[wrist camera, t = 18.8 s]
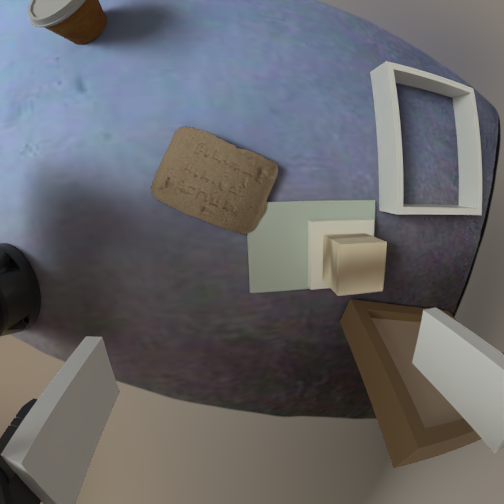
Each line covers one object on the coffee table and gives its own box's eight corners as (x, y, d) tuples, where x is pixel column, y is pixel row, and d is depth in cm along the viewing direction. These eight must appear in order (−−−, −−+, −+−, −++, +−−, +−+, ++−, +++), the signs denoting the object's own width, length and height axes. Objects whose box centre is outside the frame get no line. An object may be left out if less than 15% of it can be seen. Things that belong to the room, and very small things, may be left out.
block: (323, 234, 37) (340, 244, 31) (364, 233, 37) (386, 241, 32) (322, 279, 38) (337, 295, 33) (362, 276, 39) (382, 290, 33)
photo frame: (347, 296, 42) (449, 403, 18) (445, 308, 45) (539, 376, 20) (319, 376, 45) (374, 498, 21) (415, 375, 48) (484, 457, 24)
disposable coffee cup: (128, 11, 29) (103, -31, 18) (90, 60, 31) (52, 27, 19) (87, 1, 28) (58, -35, 16) (52, 46, 29) (13, 19, 17)
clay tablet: (281, 165, 36) (284, 163, 34) (249, 238, 38) (250, 241, 35) (178, 123, 35) (173, 119, 32) (147, 195, 36) (141, 195, 34)
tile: (310, 289, 39) (370, 283, 39) (311, 221, 36) (374, 219, 37) (307, 285, 40) (365, 279, 41) (307, 220, 38) (368, 218, 39)
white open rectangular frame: (379, 210, 39) (397, 214, 35) (370, 72, 35) (386, 61, 30) (462, 211, 41) (481, 215, 36) (455, 93, 36) (473, 88, 31)
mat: (249, 291, 40) (250, 293, 40) (245, 202, 38) (246, 203, 37) (369, 281, 42) (371, 282, 41) (373, 200, 39) (375, 200, 38)
